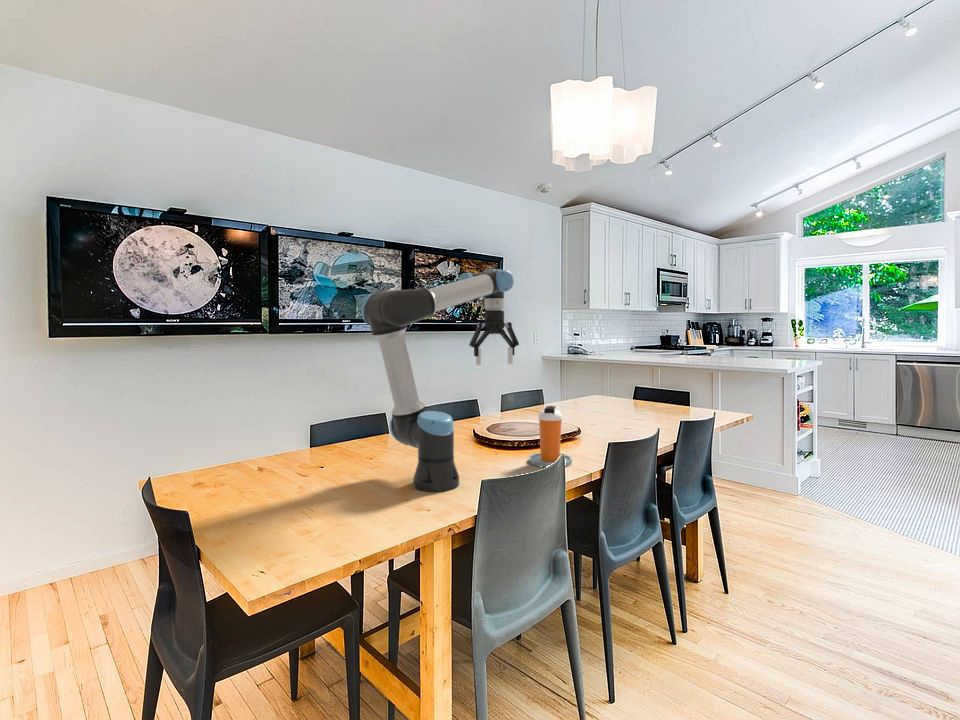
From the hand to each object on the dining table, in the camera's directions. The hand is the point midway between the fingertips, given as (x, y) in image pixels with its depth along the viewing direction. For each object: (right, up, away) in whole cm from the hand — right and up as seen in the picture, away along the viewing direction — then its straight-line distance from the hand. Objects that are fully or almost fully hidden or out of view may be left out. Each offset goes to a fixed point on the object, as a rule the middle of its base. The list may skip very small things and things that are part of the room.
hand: (494, 364), depth 200 cm
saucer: (+21, -37, -6) cm, 43 cm away
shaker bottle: (+21, -36, -6) cm, 42 cm away
